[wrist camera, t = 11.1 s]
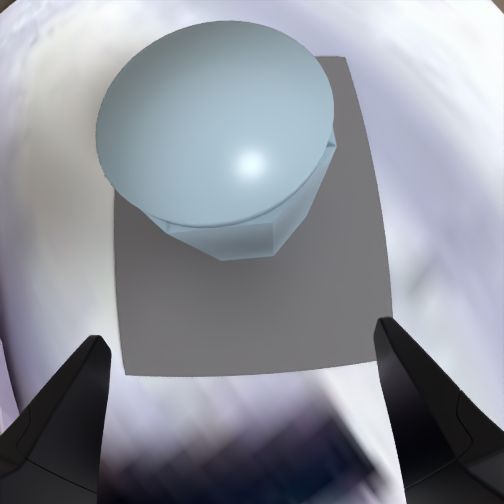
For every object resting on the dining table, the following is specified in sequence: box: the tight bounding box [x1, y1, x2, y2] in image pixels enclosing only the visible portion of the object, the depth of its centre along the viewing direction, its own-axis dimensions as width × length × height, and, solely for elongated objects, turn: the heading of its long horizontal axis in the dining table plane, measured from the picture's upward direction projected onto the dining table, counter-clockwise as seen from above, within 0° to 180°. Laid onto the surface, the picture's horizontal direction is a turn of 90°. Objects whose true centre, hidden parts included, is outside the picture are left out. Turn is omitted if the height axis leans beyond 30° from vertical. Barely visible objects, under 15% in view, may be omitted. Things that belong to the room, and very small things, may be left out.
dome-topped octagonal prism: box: [96, 21, 337, 261], centre depth 13 cm, size 7×7×10 cm
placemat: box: [114, 57, 393, 377], centre depth 18 cm, size 20×16×1 cm
